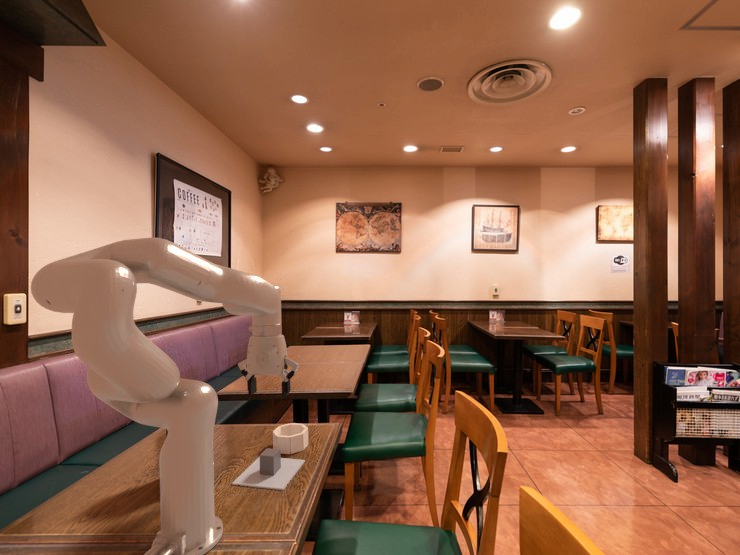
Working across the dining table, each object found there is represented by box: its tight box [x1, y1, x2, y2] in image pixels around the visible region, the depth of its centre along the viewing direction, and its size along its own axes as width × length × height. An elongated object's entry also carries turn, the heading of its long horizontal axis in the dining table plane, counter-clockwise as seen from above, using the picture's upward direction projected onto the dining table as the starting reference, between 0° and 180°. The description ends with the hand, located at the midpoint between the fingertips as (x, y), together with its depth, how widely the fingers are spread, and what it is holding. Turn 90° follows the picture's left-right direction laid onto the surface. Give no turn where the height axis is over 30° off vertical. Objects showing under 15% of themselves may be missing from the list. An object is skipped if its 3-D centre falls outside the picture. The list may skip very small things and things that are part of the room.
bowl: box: [272, 422, 309, 455], centre depth 110 cm, size 10×10×5 cm
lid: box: [231, 447, 306, 491], centre depth 95 cm, size 14×14×6 cm
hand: (269, 394), depth 95 cm, fingers open, 9 cm apart
